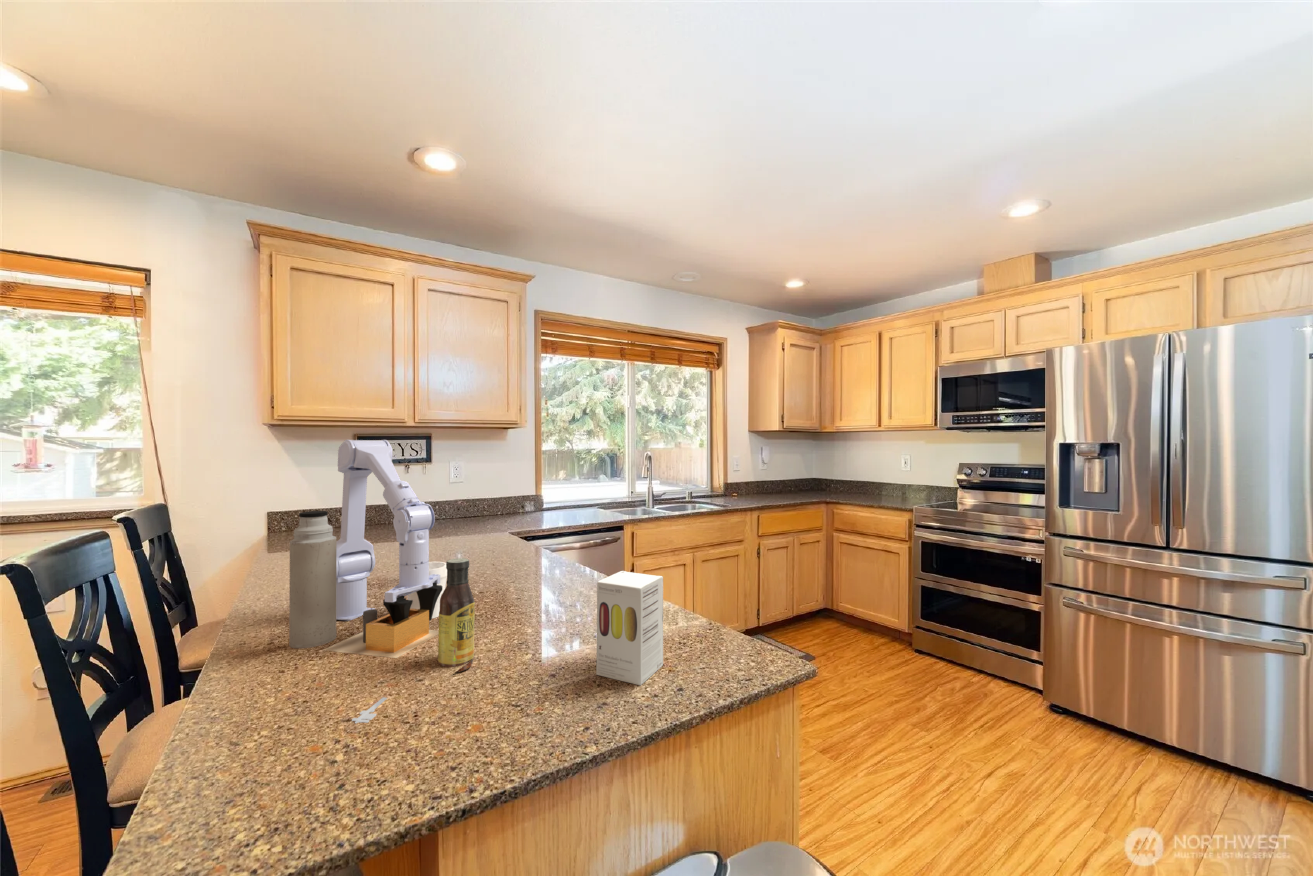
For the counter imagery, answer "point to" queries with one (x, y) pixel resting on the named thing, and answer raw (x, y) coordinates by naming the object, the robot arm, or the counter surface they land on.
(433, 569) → the foam cup
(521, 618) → the counter surface
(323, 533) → the thermos bottle
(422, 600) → the robot arm
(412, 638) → the orange wooden hollow box
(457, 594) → the sauce bottle
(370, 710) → the key
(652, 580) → the supplement box
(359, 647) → the board
